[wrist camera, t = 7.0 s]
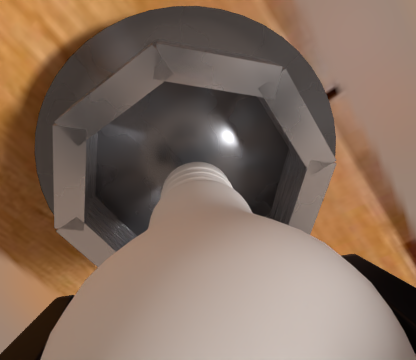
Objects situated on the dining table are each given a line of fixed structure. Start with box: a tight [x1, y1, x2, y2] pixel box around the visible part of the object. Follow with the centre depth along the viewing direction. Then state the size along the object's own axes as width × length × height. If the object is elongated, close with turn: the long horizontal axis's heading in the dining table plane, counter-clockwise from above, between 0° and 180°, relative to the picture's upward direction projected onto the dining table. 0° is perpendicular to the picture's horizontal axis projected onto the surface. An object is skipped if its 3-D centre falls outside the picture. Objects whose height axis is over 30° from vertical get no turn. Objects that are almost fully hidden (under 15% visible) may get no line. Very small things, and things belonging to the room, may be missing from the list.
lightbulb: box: [40, 162, 416, 360], centre depth 8 cm, size 6×6×11 cm
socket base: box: [35, 6, 336, 267], centre depth 13 cm, size 12×12×4 cm
